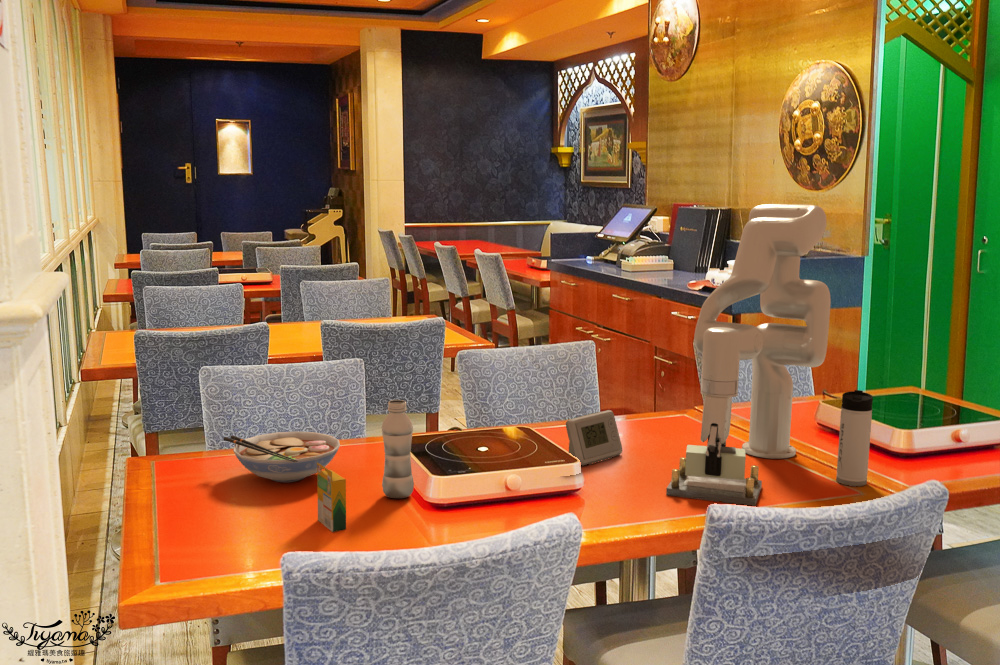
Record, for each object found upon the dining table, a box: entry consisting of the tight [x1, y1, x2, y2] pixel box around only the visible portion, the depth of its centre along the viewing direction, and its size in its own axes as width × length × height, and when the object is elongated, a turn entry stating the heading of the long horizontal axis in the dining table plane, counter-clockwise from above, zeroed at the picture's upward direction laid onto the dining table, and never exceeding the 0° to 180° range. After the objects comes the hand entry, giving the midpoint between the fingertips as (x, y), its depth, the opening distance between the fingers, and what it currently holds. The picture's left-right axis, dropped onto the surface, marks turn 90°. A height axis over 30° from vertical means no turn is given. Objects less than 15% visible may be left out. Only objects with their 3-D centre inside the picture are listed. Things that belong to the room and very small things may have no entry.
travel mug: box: [836, 389, 874, 487], centre depth 198 cm, size 6×7×20 cm
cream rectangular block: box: [685, 444, 747, 480], centre depth 192 cm, size 6×12×6 cm, turn 76°
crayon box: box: [316, 462, 347, 533], centre depth 171 cm, size 7×3×12 cm, turn 33°
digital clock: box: [565, 409, 623, 467], centre depth 215 cm, size 16×9×11 cm, turn 122°
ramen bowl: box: [223, 431, 341, 483], centre depth 199 cm, size 25×23×8 cm
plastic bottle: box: [381, 399, 415, 499], centre depth 186 cm, size 6×7×20 cm
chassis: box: [665, 457, 763, 507], centre depth 193 cm, size 13×18×5 cm
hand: (715, 469), depth 192 cm, fingers closed on cream rectangular block, 6 cm apart
